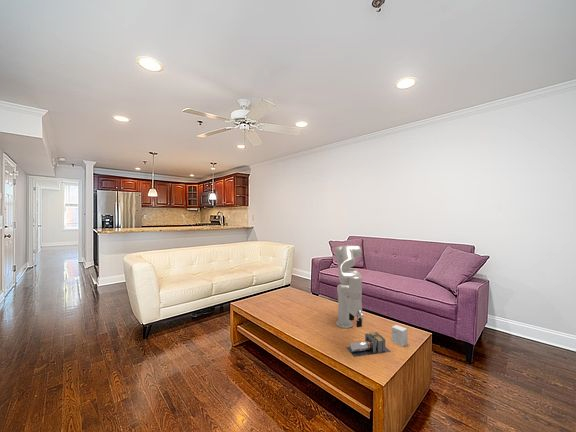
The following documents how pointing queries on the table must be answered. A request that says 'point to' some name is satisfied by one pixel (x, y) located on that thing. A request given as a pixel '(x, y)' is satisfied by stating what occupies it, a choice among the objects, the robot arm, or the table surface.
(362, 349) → the tube
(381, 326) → the table surface
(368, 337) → the rail
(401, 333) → the small box
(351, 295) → the robot arm
